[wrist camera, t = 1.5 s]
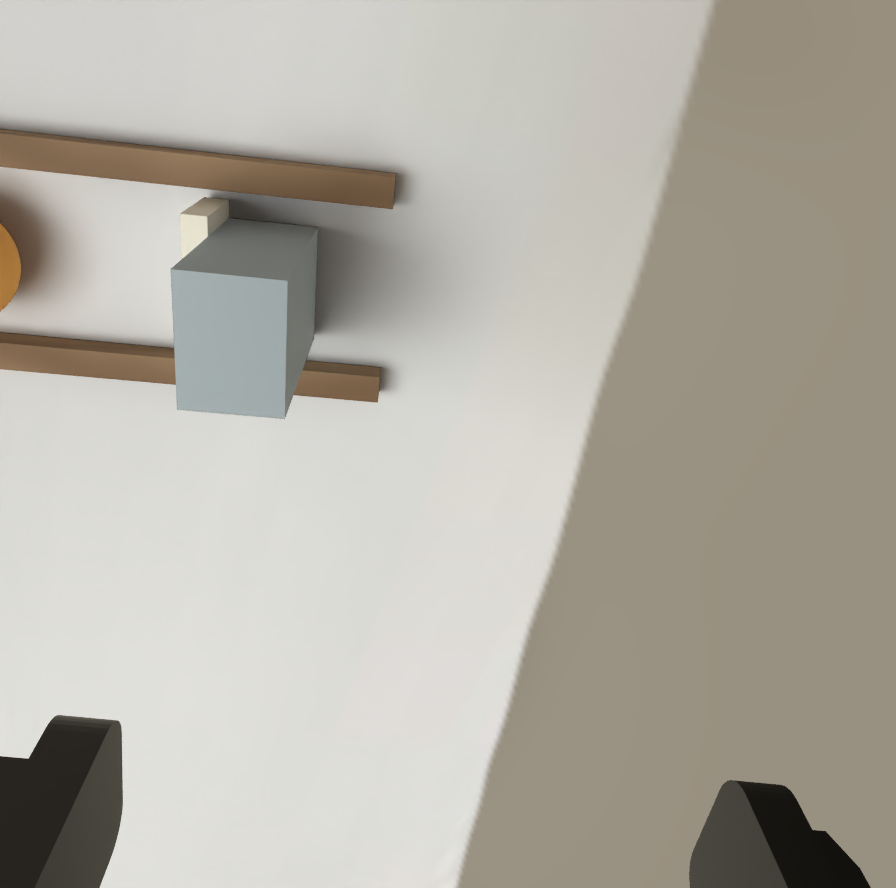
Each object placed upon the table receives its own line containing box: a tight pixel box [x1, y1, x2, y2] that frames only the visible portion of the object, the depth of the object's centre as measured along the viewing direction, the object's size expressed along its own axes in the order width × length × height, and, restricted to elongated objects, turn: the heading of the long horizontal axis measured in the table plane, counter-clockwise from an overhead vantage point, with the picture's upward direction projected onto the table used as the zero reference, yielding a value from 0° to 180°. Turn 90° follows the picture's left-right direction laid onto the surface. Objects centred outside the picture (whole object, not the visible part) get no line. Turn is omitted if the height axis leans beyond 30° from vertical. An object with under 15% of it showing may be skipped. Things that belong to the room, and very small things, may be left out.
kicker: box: [171, 197, 318, 419], centre depth 24 cm, size 5×4×7 cm
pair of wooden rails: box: [0, 129, 396, 402], centre depth 27 cm, size 8×18×1 cm, turn 84°
